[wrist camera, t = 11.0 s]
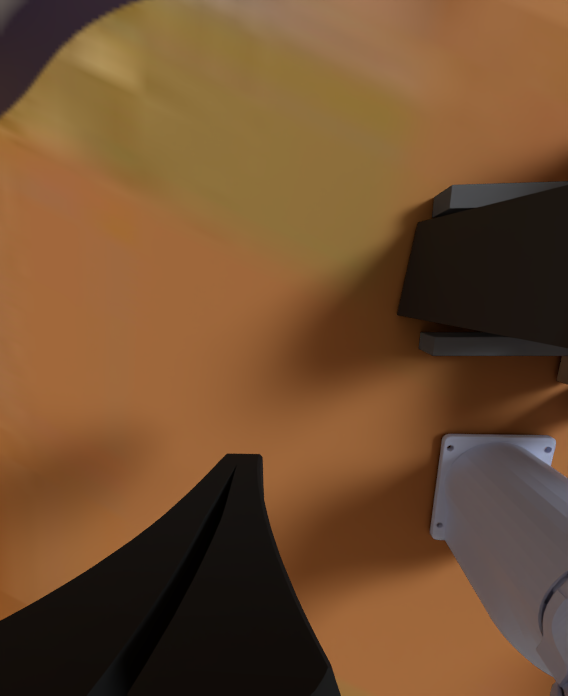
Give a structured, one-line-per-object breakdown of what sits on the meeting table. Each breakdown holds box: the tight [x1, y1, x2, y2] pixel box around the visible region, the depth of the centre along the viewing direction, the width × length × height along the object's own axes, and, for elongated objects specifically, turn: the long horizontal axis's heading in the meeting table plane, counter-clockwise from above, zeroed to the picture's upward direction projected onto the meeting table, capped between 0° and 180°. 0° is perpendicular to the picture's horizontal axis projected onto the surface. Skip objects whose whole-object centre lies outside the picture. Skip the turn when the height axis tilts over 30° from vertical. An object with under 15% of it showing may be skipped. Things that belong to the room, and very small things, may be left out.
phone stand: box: [397, 185, 568, 348], centre depth 12 cm, size 9×6×12 cm, turn 82°
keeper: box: [419, 181, 568, 356], centre depth 17 cm, size 10×9×2 cm
